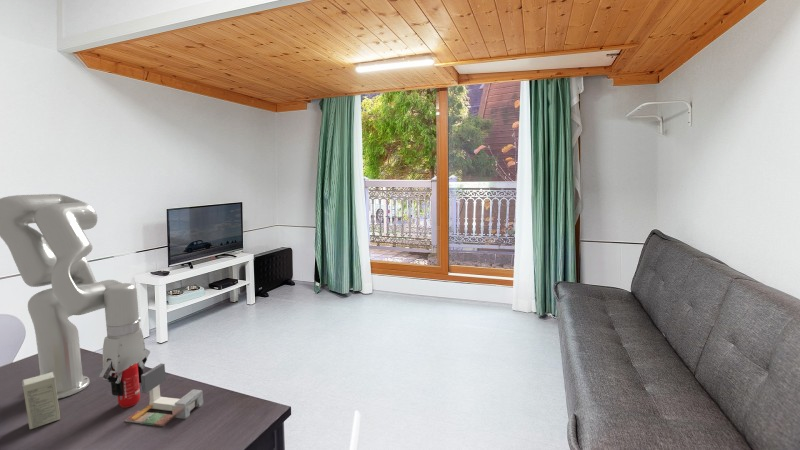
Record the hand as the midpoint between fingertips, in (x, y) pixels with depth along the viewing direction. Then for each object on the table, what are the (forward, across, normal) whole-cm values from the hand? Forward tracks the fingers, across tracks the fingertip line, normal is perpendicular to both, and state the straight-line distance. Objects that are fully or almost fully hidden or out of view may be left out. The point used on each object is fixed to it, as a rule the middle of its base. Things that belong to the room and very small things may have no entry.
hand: (128, 388), depth 112 cm
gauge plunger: (+4, +2, +14) cm, 15 cm away
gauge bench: (+5, +2, +14) cm, 14 cm away
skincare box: (+5, +12, -15) cm, 19 cm away
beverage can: (+5, 0, 0) cm, 5 cm away
